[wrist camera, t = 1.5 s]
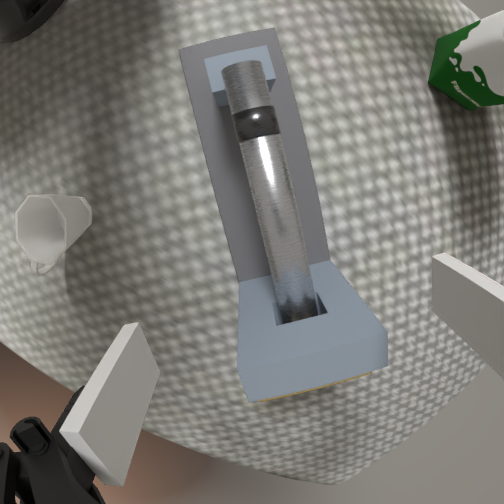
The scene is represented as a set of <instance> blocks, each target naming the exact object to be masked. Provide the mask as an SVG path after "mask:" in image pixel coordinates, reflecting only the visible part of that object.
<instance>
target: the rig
mask: <svg viewBox="0 0 504 504" xmlns="http://www.w3.org/2000/svg"><path fill="white" fill-rule="evenodd" d="M179 52H180V57H181V61H182V65H183V69H184V73H185V77H186V82H187V86H188V90H189V94H190V98H191V102H192V106H193V110H194V114H195V118H196V122H197V126H198V130H199V134H200V138H201V142H202V145H203V149H204V153H205V157H206V161H207V165H208V169H209V172H210V176H211V180H212V184H213V188H214V192H215V195H216V199H217V203H218V207H219V210H220V214H221V218H222V222H223V225H224V229H225V233H226V236H227V240H228V244H229V247H230V251H231V255H232V258H233V262H234V265H235V269H236V273H237V276H238V280H239V308H238V354H237V371H238V374H239V377H240V380H241V382H242V385H243V388H244V391H245V394H246V396H247V399H248V402H253V401H258V400H263V399H268V398H273V397H278V396H282V395H287V394H291V393H295V392H300V391H304V390H308V389H312V388H316V387H320V386H323V385H327V384H331V383H334V382H338V381H342V380H345V379H348V378H352V377H355V376H358V375H362V374H365V373H368V372H371V371H374V370H377V369H380V368H383V367H386V366H388V336H387V330H386V329H385V328H384V326H383V325H382V324H381V323H380V321H379V320H378V319H377V317H376V316H375V315H374V314H373V312H372V311H371V310H370V309H369V307H368V306H367V305H366V303H365V302H364V301H363V300H362V298H361V297H360V296H359V295H358V293H357V292H356V291H355V290H354V288H353V287H352V286H351V285H350V284H349V282H348V281H347V280H346V279H345V277H344V276H343V275H342V274H341V272H340V271H339V270H338V269H337V268H336V266H335V265H334V264H333V263H332V262H331V260H330V256H329V250H328V244H327V239H326V233H325V228H324V223H323V217H322V212H321V207H320V202H319V197H318V192H317V188H316V183H315V178H314V174H313V169H312V165H311V160H310V156H309V152H308V147H307V143H306V139H305V135H304V131H303V127H302V123H301V119H300V115H299V111H298V107H297V103H296V99H295V96H294V92H293V88H292V85H291V81H290V78H289V74H288V71H287V67H286V64H285V60H284V57H283V53H282V50H281V47H280V44H279V40H278V37H277V34H276V31H275V28H270V29H264V30H258V31H253V32H247V33H242V34H237V35H233V36H228V37H224V38H220V39H215V40H211V41H207V42H204V43H200V44H196V45H193V46H189V47H186V48H182V49H179ZM249 60H257V61H260V62H261V63H262V66H263V70H264V73H265V77H266V81H267V84H268V88H269V92H270V95H271V99H272V103H273V106H274V108H275V112H276V115H277V119H278V123H279V127H280V131H281V133H280V134H281V138H282V142H283V146H284V150H285V155H286V159H287V163H288V167H289V171H290V176H291V180H292V185H293V189H294V193H295V198H296V202H297V207H298V212H299V216H300V221H301V226H302V231H303V235H304V240H305V245H306V250H307V255H308V260H309V266H310V271H311V276H312V281H313V287H314V292H315V298H316V303H317V309H318V316H314V317H310V318H307V319H303V320H299V321H295V322H291V323H286V324H283V321H282V317H281V313H280V309H279V304H278V300H277V296H276V292H275V288H274V283H273V279H272V275H271V271H270V267H269V262H268V258H267V254H266V250H265V246H264V242H263V238H262V234H261V229H260V225H259V221H258V217H257V213H256V209H255V205H254V201H253V197H252V193H251V189H250V185H249V181H248V177H247V173H246V169H245V165H244V161H243V157H242V153H241V149H240V145H239V143H238V140H237V136H236V132H235V128H234V124H233V120H232V117H231V116H232V114H231V110H230V106H229V102H228V98H227V94H226V91H225V87H224V83H223V79H222V75H221V70H222V69H224V68H225V67H227V66H229V65H232V64H234V63H238V62H242V61H249Z"/></svg>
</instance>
